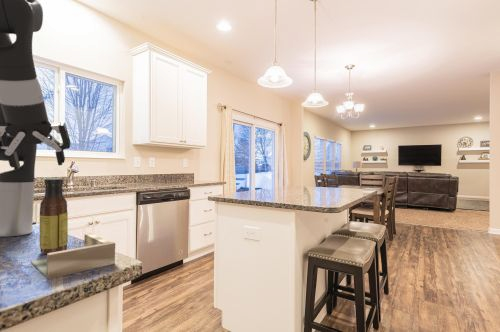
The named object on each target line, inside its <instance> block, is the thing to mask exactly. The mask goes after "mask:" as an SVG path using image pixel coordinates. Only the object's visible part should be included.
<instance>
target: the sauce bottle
mask: <svg viewBox="0 0 500 332" xmlns="http://www.w3.org/2000/svg"><path fill="white" fill-rule="evenodd" d="M63 184H64V179H63V178H62V177H61V178H60V177H59V178H58V177H57V178H55V177H53V178H51V177H50V178H45V179H44V185H45V188H44V189H45V190H44V191H45V192H44V197H43V199H42V200H41V201H40V206H39V249H40V250H39V251H40V254H42V255H47V253H52V252H58V251H64V250H68V244H69V240H68V239H69V234H68V233H69V232H68V231H69V230H68V229H69V228H68V225H69V224H68V219H69V217H68V214H69V212H68V202H67V200H66V198H65V196H64V194H63Z"/></svg>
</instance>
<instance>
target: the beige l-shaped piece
mask: <svg viewBox="0 0 500 332" xmlns="http://www.w3.org/2000/svg"><path fill="white" fill-rule="evenodd" d="M83 241H84V245H83V246H82V247H76V248H71V249H67V250H64V251H58V252H52V253H47V254H46V257H45V258H40V259H33V260H31V261H30V263H31V264H32V265H33V266H34V267H35V268H36V269H37V270H38V271H39V272H40V273H41V274H42V275H43V276H44V277H45V276H46V277H45V278H46V279H47V280H51V279H55V278H60V277H64V276H69V275H71V274H72V275H73V274H76V273H81V272H84V271H88V270H93V269H96V268H97V269H99V268H103V267H106V266H110V265H113V264H115V261H116V242H115V241H109V240H106V239H104V238H102V237H100V236H98V235H96V234H93V233H92V232H89V233H84V239H83ZM50 278H51V279H50Z"/></svg>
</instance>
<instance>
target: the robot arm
mask: <svg viewBox="0 0 500 332" xmlns="http://www.w3.org/2000/svg"><path fill="white" fill-rule="evenodd" d="M43 9H44V8H43V6H42V4H41V2H40V1H39V0H0V161H3V162H8V165H9V167H11V168H13V169H11V170H8V171H3V172H0V237H18V236H24V235H28V234H31V233H32V232H33V221H34V218H33V217H34V200H35V198H34V197H35V172H36V171H35V170H36V169H35V167H36V157H37V148H38V145H41V144H42V143H43V144H45V145H46V146H48V147H51V149H53V150H54V151H55V152H54V153H55V157H56V161H57V165H58V166H62V165H63V164H65V161H66V157H65V152H64V150H68V149H70V148H71V143H72V142H71V139H70V135H69V132H68V128H67V123H65V122H64V121H61V122H60V123H57V124H56V123H54V124H52V123H51V122H50V121H49V117H48V112H47V109H46V104H45V99H44V95H43V90H42V87H41V84H40V82H39V79H38V76H37V72H36V71H37V70H36V67H35V63H34V57H33V36H34V35H33V34H34V33H37V32H39V31H40V30H41V29H42V26H43V21H44V20H43V19H44V12H43ZM10 34H11V35H15V36H16V37H15V41H14V42H12V39H11V36H10ZM53 130H54V131H55V132H56V133H57V134H59V135H60V137H61V142H62V143H61V142H59V141H58V140H57V139H56V138H55V137H54V136H53V135H52V134H51V133H52V131H53ZM20 162H23V164H22V165H21V163H20Z"/></svg>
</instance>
